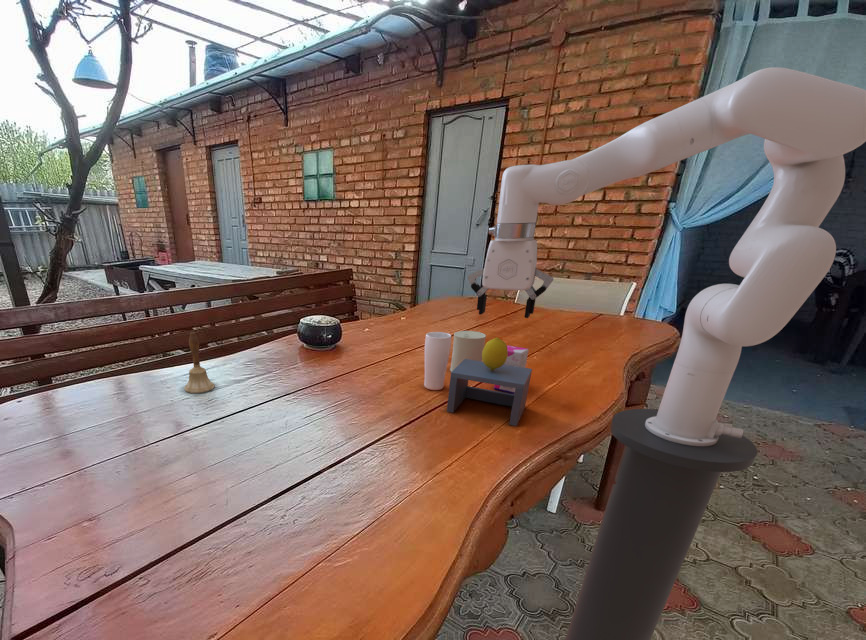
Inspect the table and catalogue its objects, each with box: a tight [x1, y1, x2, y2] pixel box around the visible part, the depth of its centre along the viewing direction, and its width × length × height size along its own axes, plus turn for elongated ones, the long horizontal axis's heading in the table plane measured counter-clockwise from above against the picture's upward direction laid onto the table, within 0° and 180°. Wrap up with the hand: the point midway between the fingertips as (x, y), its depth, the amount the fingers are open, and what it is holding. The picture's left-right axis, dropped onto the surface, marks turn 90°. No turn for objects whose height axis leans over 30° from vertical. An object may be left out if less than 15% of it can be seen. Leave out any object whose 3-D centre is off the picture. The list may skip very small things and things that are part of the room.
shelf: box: [446, 359, 533, 427], centre depth 102 cm, size 16×12×10 cm
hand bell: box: [183, 331, 216, 394], centre depth 117 cm, size 8×8×16 cm
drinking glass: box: [423, 331, 452, 391], centre depth 115 cm, size 7×7×15 cm
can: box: [449, 330, 487, 373], centre depth 128 cm, size 9×9×12 cm
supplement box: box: [493, 345, 529, 394], centre depth 114 cm, size 6×6×12 cm
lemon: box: [482, 337, 508, 371], centre depth 99 cm, size 6×6×8 cm
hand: (503, 315), depth 95 cm, fingers open, 9 cm apart
